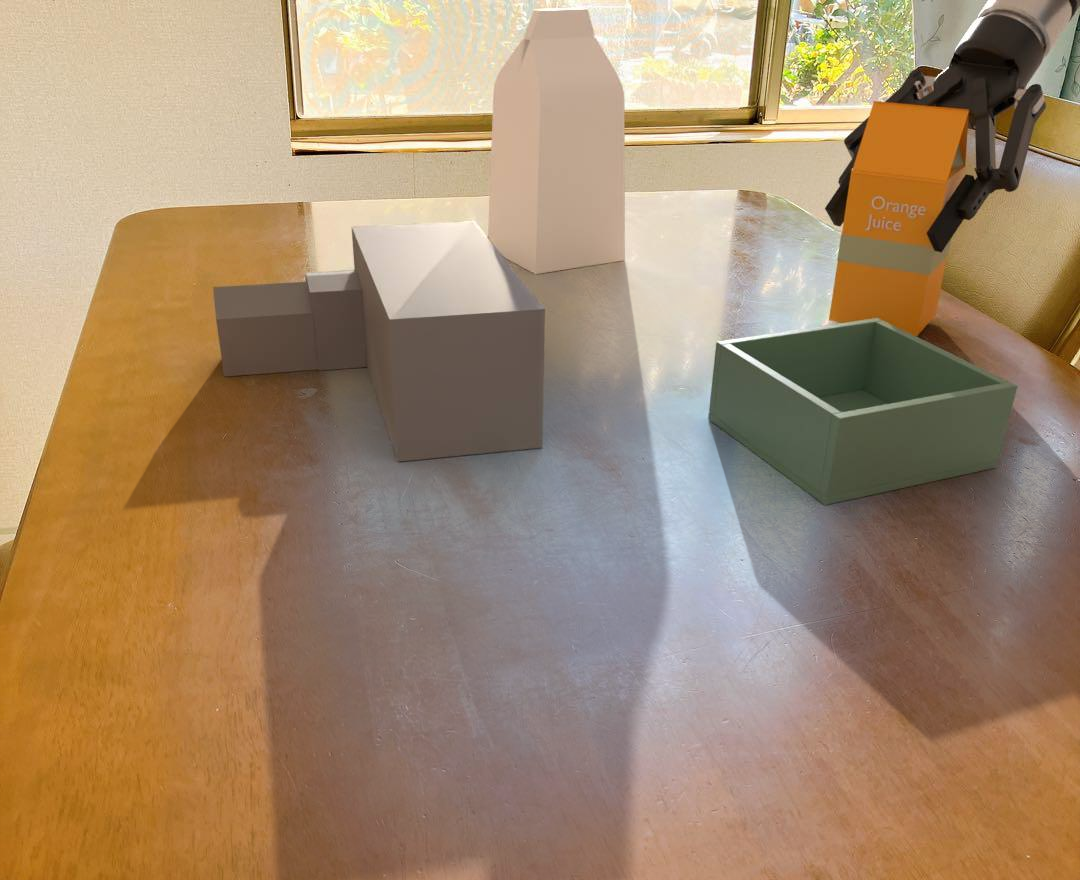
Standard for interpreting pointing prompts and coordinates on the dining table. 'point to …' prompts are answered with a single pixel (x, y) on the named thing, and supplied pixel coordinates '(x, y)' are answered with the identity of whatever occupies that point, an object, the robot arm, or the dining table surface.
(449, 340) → the grey stepped block
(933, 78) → the robot arm
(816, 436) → the crate
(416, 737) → the dining table surface
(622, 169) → the milk
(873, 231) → the orange juice
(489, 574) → the dining table surface
